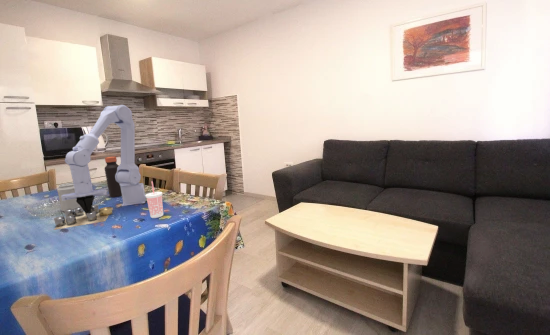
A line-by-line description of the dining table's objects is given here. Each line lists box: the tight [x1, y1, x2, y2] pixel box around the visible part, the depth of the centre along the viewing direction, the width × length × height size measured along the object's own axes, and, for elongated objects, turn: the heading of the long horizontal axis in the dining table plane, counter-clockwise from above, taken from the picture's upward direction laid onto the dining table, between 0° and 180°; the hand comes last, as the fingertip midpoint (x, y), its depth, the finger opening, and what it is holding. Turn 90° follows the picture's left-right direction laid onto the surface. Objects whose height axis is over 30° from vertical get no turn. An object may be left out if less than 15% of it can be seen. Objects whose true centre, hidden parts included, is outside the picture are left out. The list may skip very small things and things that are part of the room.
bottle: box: [104, 156, 122, 198], centre depth 136 cm, size 7×7×20 cm
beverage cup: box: [145, 180, 164, 219], centre depth 104 cm, size 6×6×14 cm
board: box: [53, 207, 114, 231], centre depth 105 cm, size 16×17×1 cm
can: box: [56, 182, 81, 212], centre depth 116 cm, size 8×8×12 cm
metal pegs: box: [53, 204, 100, 228], centre depth 104 cm, size 13×13×3 cm
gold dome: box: [99, 206, 113, 217], centre depth 108 cm, size 4×4×2 cm
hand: (88, 214), depth 105 cm, fingers closed
